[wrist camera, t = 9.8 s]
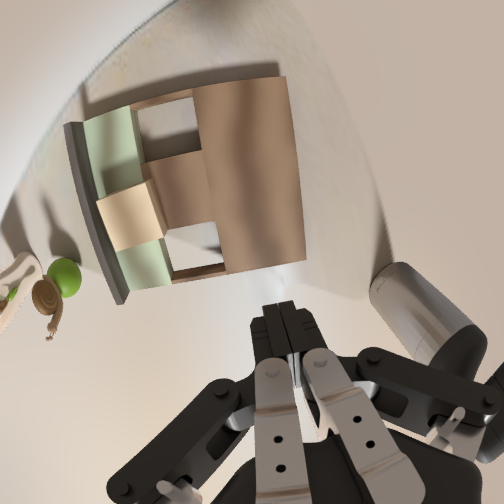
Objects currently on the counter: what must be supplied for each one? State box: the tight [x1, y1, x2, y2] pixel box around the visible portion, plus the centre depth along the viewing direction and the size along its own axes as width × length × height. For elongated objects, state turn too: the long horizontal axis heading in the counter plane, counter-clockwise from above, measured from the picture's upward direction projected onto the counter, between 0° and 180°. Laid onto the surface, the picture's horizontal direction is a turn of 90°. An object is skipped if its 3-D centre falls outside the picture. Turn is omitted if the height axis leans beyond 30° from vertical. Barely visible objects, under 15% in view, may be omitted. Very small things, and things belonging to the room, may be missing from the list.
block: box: [96, 178, 169, 252], centre depth 27 cm, size 6×6×3 cm
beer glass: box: [0, 251, 43, 335], centre depth 25 cm, size 7×7×15 cm
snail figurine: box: [32, 258, 82, 341], centre depth 28 cm, size 5×6×12 cm
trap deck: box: [63, 76, 306, 305], centre depth 28 cm, size 24×22×6 cm
